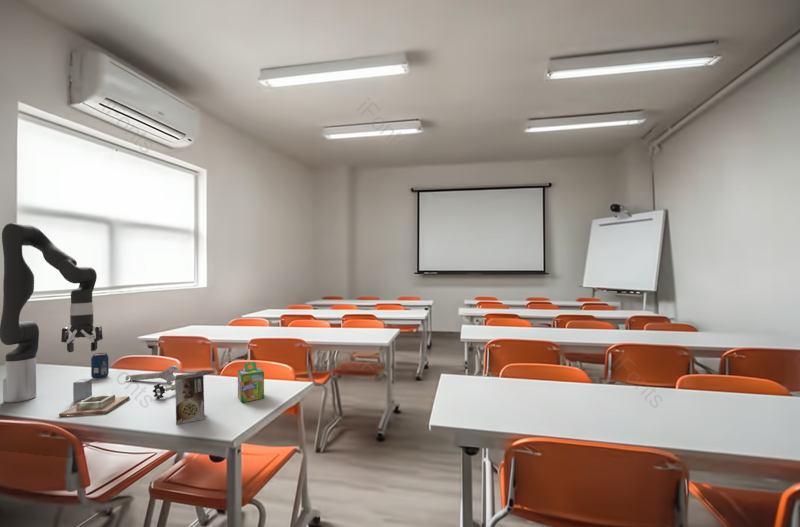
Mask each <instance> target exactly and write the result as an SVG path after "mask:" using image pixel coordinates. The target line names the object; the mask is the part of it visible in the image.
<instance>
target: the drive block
mask: <svg viewBox="0 0 800 527" xmlns="http://www.w3.org/2000/svg"><path fill="white" fill-rule="evenodd" d="M72 385H73V386H72V387H73V388H72V391H73V392H72V393H73V395H72V396H73V399H72V400H73V401H76V402H81V400H85V399H87V398H89V397H90V396H93V378H84V379H82V378H81V379H78V380H76V381H73V384H72Z"/></svg>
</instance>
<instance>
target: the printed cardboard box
mask: <svg viewBox="0 0 800 527" xmlns="http://www.w3.org/2000/svg"><path fill="white" fill-rule="evenodd" d="M175 376H176V378H175V381H174V384H175V390H174V392H175V391H176V393H175V425H182V424H185V423H191V422H197V421H201V420H205V388H204V387H205V386H204V382H205V381H204V375H203V372H199V371H197V372H190V373H182V374H176V375H175Z"/></svg>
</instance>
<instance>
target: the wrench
mask: <svg viewBox="0 0 800 527" xmlns="http://www.w3.org/2000/svg"><path fill="white" fill-rule="evenodd" d="M174 372H177V373H179V372H181V368H180V366H178V365H171V366H169V367H167V368H165V370H162V371H157V372H146V373H143V372H142V373H133V374H128V375H126V376H125V381H126V380H128V379H130V380H136V381H144V380H145V381H146V380H153V379H154V380H155V379H161V380H164V381H166V383H168V384H170V383H171V382H175V378H176V375H174Z"/></svg>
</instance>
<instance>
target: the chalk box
mask: <svg viewBox="0 0 800 527" xmlns="http://www.w3.org/2000/svg"><path fill="white" fill-rule="evenodd" d="M249 366H252V367H250V368H249ZM243 367H244V368H243V369H238V370H237V398H238V400H239V401H240V402H241V403H247V402H252V401H257V400H263V399H265V371H264V370H263V369H262V368H260V367H258V366H257V362H256V361H249V362H245V363H244V366H243Z"/></svg>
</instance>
